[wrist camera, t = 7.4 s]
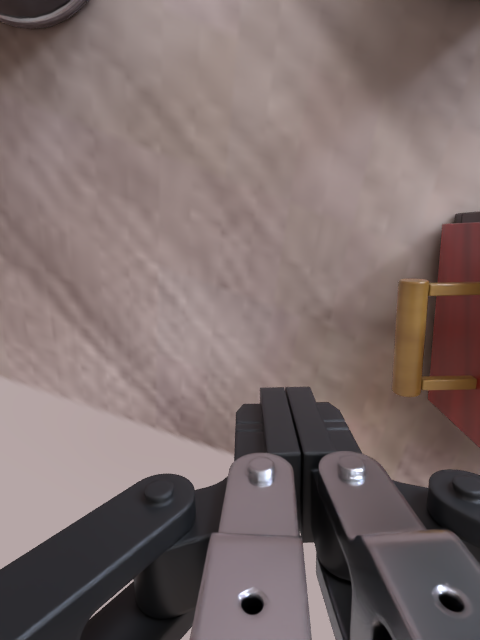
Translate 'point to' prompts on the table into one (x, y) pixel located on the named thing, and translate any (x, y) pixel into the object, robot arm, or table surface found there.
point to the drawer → (444, 331)
